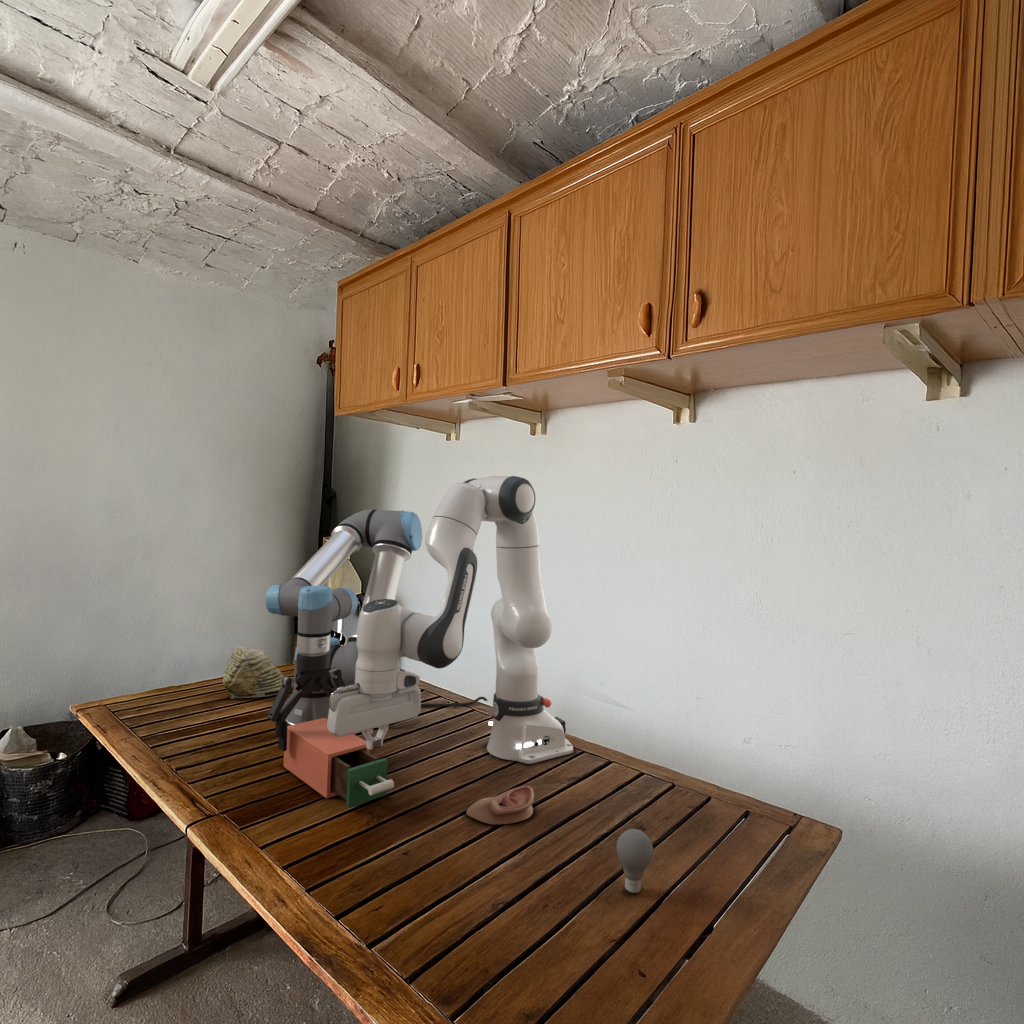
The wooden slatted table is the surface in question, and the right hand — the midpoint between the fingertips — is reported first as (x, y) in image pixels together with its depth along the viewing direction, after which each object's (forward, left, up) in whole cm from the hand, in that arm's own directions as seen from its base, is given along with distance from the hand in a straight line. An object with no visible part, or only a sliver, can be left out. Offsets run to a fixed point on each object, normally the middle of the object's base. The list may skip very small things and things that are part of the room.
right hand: (374, 747), depth 129 cm
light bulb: (-35, +42, -13) cm, 56 cm away
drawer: (+3, -8, -12) cm, 15 cm away
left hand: (+9, -26, -7) cm, 28 cm away
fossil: (+20, -84, -13) cm, 87 cm away
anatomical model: (-24, +10, -13) cm, 29 cm away
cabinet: (+7, -19, -13) cm, 24 cm away
